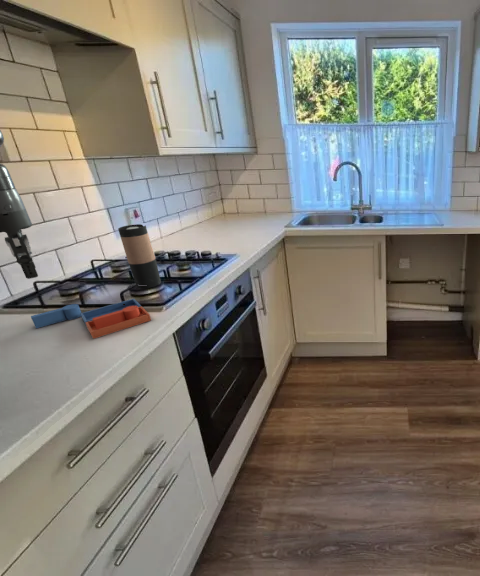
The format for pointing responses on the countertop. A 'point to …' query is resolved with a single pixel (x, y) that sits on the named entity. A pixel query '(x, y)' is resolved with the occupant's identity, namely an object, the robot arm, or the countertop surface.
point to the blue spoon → (56, 315)
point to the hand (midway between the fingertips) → (31, 273)
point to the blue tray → (107, 310)
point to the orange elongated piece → (116, 317)
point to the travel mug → (140, 255)
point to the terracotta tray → (118, 324)
